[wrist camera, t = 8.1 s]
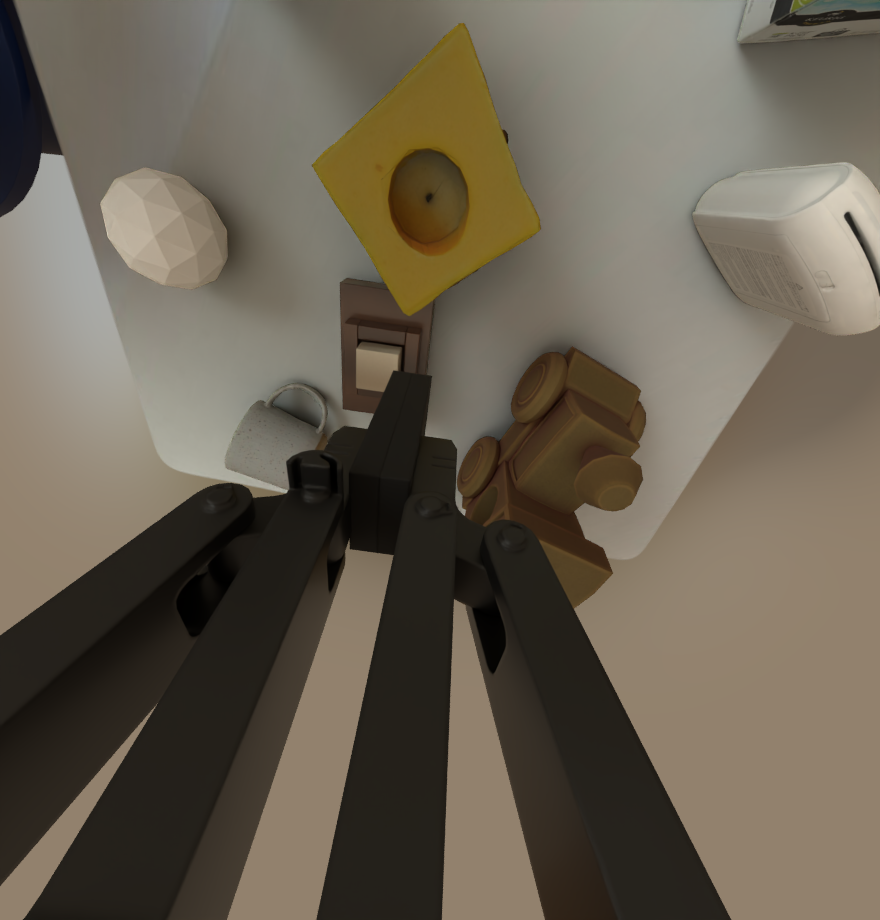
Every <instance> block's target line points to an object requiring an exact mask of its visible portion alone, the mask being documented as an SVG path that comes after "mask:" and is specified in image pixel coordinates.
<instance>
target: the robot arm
mask: <svg viewBox="0 0 880 920" xmlns="http://www.w3.org/2000/svg"><path fill="white" fill-rule="evenodd" d="M431 380H432V376H429V375H422V374H415V373H408V372H401V371H395V370H393V372H392V374H391V377H390V379H389V381H388V384H387V386H386V388H385V390H384V393H383V395H382V397H381V400H380V402H379V404H378V406H377V409H376V411H375V413H374V416H373V418H372V420H371V422H370V425H369V427H368V429H363V428H356V427H349V426H344V427H342V428H341V429H339V430H338V431H336V432H334V433H333V435H332V437H331V438H330V440H329V442H328V444H327V445H326V447H325V449H324V450H308V451H303V452H300V453H298V454H295V455H293V456H292V457H290V458H289V459H288V460H287V461H286V466H287V474H288V481H289V490H288V492H287V493H286V494H283V495H278V496H270V497H258V498H253V496H252V494H251V492H250V490H249V489H248V488H246V487H244V486H243V485H240V484H234V483H224V484H216V485H213V486H210V487H207V488H205V489H203V490H201V491H199V492H197V493H196V494H194V495H193V496H192V497H190V498H189V499H187V500H186V501H185V502H183V503H182V504H181V505H179V506H178V507H176V508H175V509H174V510H173V511H171V512H170V513H168V514H167V515H166V516H164V517H163V518H161V519H160V520H159V521H157V522H156V523H154V524H153V525H152V526H150V527H149V528H148V529H146V530H145V531H143V532H142V533H141V534H139V535H138V536H137V537H135V538H134V539H133V540H131V541H130V542H128V543H127V544H126V545H124V546H123V547H121V548H120V549H119V550H118V551H116V552H115V553H113V554H112V555H111V556H109V557H108V558H106V559H105V560H104V561H102V562H101V563H99V564H98V565H97V566H95V567H94V568H93V569H91V570H90V571H88V572H87V573H86V574H84V575H83V576H81V577H80V578H79V579H77V580H76V581H75V582H73V583H72V584H70V585H69V586H68V587H66V588H65V589H64V590H62V591H61V592H60V593H58V594H57V595H55V596H54V597H53V598H51V599H50V600H48V601H47V602H46V603H44V604H43V605H42V606H40V607H39V608H37V609H36V610H35V611H33V612H32V613H31V614H29V615H28V616H27V617H25V618H24V619H22V620H21V621H20V622H18V623H17V624H15V625H14V626H13V627H11V628H10V629H9V630H7V631H6V632H4V633H3V634H2V635H0V886H1V884H2V883H3V882H4V881H5V880H6V879H7V877H8V876H9V875H10V874H11V873H12V872H13V871H14V869H15V868H16V867H17V866H18V865H19V864H20V862H21V861H22V860H23V859H24V858H25V857H26V855H27V854H28V853H29V852H30V851H31V849H32V848H33V847H34V846H35V845H36V844H37V843H38V842H39V840H40V839H41V838H42V837H43V836H44V835H45V833H46V832H47V831H48V830H49V829H50V827H51V826H52V825H53V824H54V823H55V822H56V821H57V819H58V818H59V817H60V816H61V815H62V814H63V812H64V811H65V810H66V809H67V808H68V807H69V806H70V804H71V803H72V802H73V801H74V800H75V798H76V797H77V796H78V795H79V794H80V793H81V792H82V790H83V789H84V788H85V787H86V785H88V783H89V782H90V781H91V780H92V779H93V778H94V776H95V775H96V774H97V773H98V772H99V771H100V769H101V768H102V767H103V766H104V765H105V763H106V762H107V761H108V760H109V759H110V758H111V757H112V755H113V754H114V753H115V752H116V751H117V750H118V749H119V747H120V746H121V745H122V744H123V743H124V741H125V740H126V739H127V738H128V737H129V736H130V734H131V733H132V732H133V731H134V730H135V729H136V728H137V727H138V725H139V724H140V723H141V722H142V721H143V719H144V718H145V717H146V716H147V715H148V713H150V711H151V710H152V709H153V708H154V707H155V706H156V704H157V703H158V704H157V706H156V707H155V709H154V711H153V712H152V714H151V715H150V717H149V719H148V720H147V722H146V724H145V725H144V727H143V729H142V730H141V732H140V734H139V735H138V737H137V738H136V740H135V742H134V744H133V745H132V747H131V748H130V750H129V751H128V753H127V755H126V756H125V758H124V760H123V761H122V763H121V764H120V766H119V768H118V769H117V771H116V773H115V774H114V776H113V778H112V779H111V781H110V782H109V784H108V786H107V787H106V789H105V791H104V792H103V794H102V796H101V797H100V799H99V800H98V802H97V804H96V806H95V807H94V809H93V811H92V812H91V813H90V815H89V817H88V818H87V820H86V822H85V823H84V825H83V826H82V828H81V830H80V831H79V833H78V835H77V836H76V838H75V840H74V841H73V843H72V845H71V846H70V848H69V849H68V851H67V853H66V854H65V856H64V857H63V860H62V861H61V862H60V864H59V866H58V867H57V869H56V871H55V872H54V874H53V875H52V877H51V879H50V881H49V882H48V884H47V885H46V887H45V888H44V890H43V892H42V894H41V895H40V897H39V898H38V900H37V901H36V902H35V904H34V905H33V907H32V908H31V910H30V911H29V913H28V914H27V916H26V917H25V918H24V919H23V920H227V917H228V914H229V911H230V908H231V905H232V902H233V899H234V896H235V893H236V890H237V887H238V884H239V881H240V878H241V875H242V872H243V869H244V866H245V863H246V860H247V857H248V854H249V851H250V848H251V845H252V842H253V839H254V836H255V833H256V830H257V827H258V824H259V821H260V818H261V815H262V812H263V809H264V806H265V803H266V800H267V797H268V794H269V791H270V788H271V785H272V782H273V779H274V776H275V773H276V770H277V767H278V764H279V761H280V758H281V755H282V752H283V749H284V746H285V743H286V740H287V737H288V734H289V731H290V728H291V725H292V722H293V719H294V716H295V713H296V710H297V707H298V704H299V701H300V698H301V695H302V692H303V689H304V686H305V683H306V680H307V677H308V674H309V671H310V668H311V665H312V662H313V659H314V656H315V653H316V650H317V647H318V644H319V641H320V638H321V635H322V632H323V629H324V626H325V623H326V620H327V617H328V614H329V611H330V608H331V605H332V602H333V599H334V596H335V593H336V590H337V587H338V584H339V581H340V578H341V575H342V572H343V569H344V566H345V550H346V547H347V544H348V541H349V538H350V549H353V550H360V551H367V552H375V553H382V554H390V555H394V556H393V561H392V566H391V570H390V575H389V580H388V585H387V589H386V594H385V599H384V603H383V608H382V613H381V618H380V623H379V627H378V632H377V637H376V641H375V646H374V651H373V656H372V660H371V665H370V670H369V674H368V679H367V684H366V688H365V693H364V698H363V702H362V707H361V712H360V717H359V721H358V726H357V731H356V736H355V741H354V745H353V750H352V755H351V759H350V764H349V769H348V773H347V778H346V783H345V787H344V792H343V797H342V802H341V806H340V811H339V816H338V820H337V825H336V830H335V835H334V839H333V844H332V849H331V854H330V858H329V863H328V868H327V873H326V877H325V882H324V887H323V891H322V896H321V901H320V905H319V910H318V915H317V920H442V898H443V872H444V871H443V870H444V846H445V845H444V843H445V818H446V792H447V766H448V740H449V712H450V686H451V685H450V684H451V659H452V633H453V606H454V599H455V600H457V601H459V602H461V603H464V604H466V610H467V614H468V618H469V622H470V626H471V630H472V634H473V638H474V642H475V646H476V650H477V654H478V658H479V662H480V666H481V669H482V673H483V677H484V681H485V685H486V689H487V693H488V697H489V701H490V705H491V709H492V713H493V717H494V721H495V725H496V728H497V732H498V736H499V740H500V744H501V748H502V752H503V756H504V760H505V764H506V767H507V772H508V775H509V780H510V784H511V787H512V791H513V795H514V799H515V803H516V807H517V811H518V815H519V819H520V823H521V827H522V831H523V834H524V839H525V842H526V846H527V850H528V854H529V858H530V862H531V866H532V870H533V873H534V878H535V882H536V886H537V890H538V894H539V898H540V902H541V906H542V909H543V913H544V917H545V920H731V918H730V916H729V915H728V913H727V911H726V909H725V907H724V905H723V903H722V901H721V899H720V897H719V895H718V893H717V891H716V889H715V887H714V885H713V883H712V881H711V879H710V877H709V876H708V873H707V871H706V869H705V867H704V865H703V863H702V861H701V859H700V857H699V855H698V853H697V851H696V849H695V848H694V845H693V843H692V842H691V840H690V838H689V836H688V834H687V832H686V830H685V828H684V826H683V824H682V822H681V820H680V818H679V816H678V814H677V812H676V810H675V808H674V806H673V804H672V802H671V800H670V798H669V796H668V794H667V792H666V790H665V788H664V786H663V784H662V782H661V781H660V778H659V776H658V774H657V772H656V771H655V769H654V767H653V765H652V763H651V761H650V759H649V757H648V755H647V753H646V751H645V749H644V747H643V745H642V743H641V741H640V739H639V737H638V735H637V733H636V731H635V729H634V727H633V725H632V723H631V721H630V719H629V717H628V715H627V713H626V711H625V709H624V708H623V705H622V703H621V702H620V699H619V697H618V696H617V693H616V692H615V690H614V688H613V686H612V684H611V682H610V680H609V678H608V676H607V674H606V672H605V670H604V668H603V666H602V664H601V662H600V660H599V658H598V656H597V654H596V652H595V650H594V648H593V646H592V644H591V642H590V640H589V638H588V636H587V634H586V632H585V630H584V628H583V626H582V624H581V622H580V620H579V619H578V617H577V615H576V613H575V611H574V609H573V607H572V605H571V603H570V601H569V599H568V597H567V595H566V593H565V591H564V589H563V587H562V585H561V583H560V581H559V579H558V577H557V575H556V573H555V571H554V569H553V567H552V565H551V563H550V561H549V559H548V557H547V555H546V553H545V551H544V549H543V547H542V545H541V543H540V542H539V540H538V538H537V536H536V535H535V534H534V533H533V531H532V530H531V529H529V528H528V527H526V526H525V525H524V524H521V523H519V522H516V521H513V520H504V519H502V520H497V521H494V522H492V523H491V524H489V525H488V526H487V527H485V526H483V525H480V524H478V523H475V522H473V521H471V520H469V519H468V518H467V517H465V516H464V515H463V514H462V513H461V512H460V511H459V510H458V508H457V506H456V502H455V489H456V465H457V448H456V447H455V445H454V444H453V442H452V440H448V439H441V438H434V437H427V436H425V428H426V420H427V412H428V404H429V396H430V388H431Z"/></svg>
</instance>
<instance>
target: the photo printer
mask: <svg viewBox="0 0 880 920" xmlns="http://www.w3.org/2000/svg"><path fill="white" fill-rule="evenodd" d="M692 217H693V220H694V223H695V226H696V229H697V231H698V233H699V235H700V237H701V239H702V241H703V243H704V244H705V246H706V248H707V250H708V251H709V253H710V255H711V257H712V258H713V260H714V262H715V263H716V265H717V267H718V268H719V270H720V272H721V273H722V275H723V277H724V278H725V280H726V282H727V283H728V285H729V286H730V288H731V289H732V291H733V292H734V293H735V294H736V296H737V297H739V298H740V299H741V300H742V301H743V302H745V303H747V304H749V305H752V306H755V307H757V308H760V309H763V310H765V311H768V312H771V313H773V314H776V315H779V316H781V317H784V318H787V319H789V320H792V321H795V322H797V323H800V324H802V325H805V326H808V327H810V328H813V329H815V330H818V331H821V332H823V333H826V334H830V335H837V336H841V335H853V334H860V333H864V332H867V331H871V330H873V329H875V328H877V327H878V326H879V325H880V193H879V192H878V190H877V189H876V187H875V186H874V185H873V183H872V182H871V181H870V180H869V178H868V177H867V176H866V175H865V174H864V173H863V172H861V171H860V170H859V169H858V168H857V167H855V166H854V165H852V164H850V163H843V162H842V163H831V164H818V165H807V166H793V167H783V168H772V169H761V170H751V171H743V172H739V173H737V174H736V175H735V176H734V177H730V178H726V179H723V180H720V181H719V182H717V183H715V184H714V185H713V186H711V187H710V188H709V189H708V190H707V191H706V192H705V193H704V194H703V196H702V197H701V199H700V200H699V202H698V204H697V206H696V211H694V212H693V213H692Z"/></svg>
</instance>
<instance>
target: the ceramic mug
mask: <svg viewBox="0 0 880 920" xmlns="http://www.w3.org/2000/svg"><path fill="white" fill-rule="evenodd" d="M294 388H299V389H301V390H303V391H305V392H306V393H308V394H309V395H311V396H312V397H313V399H314V401H316V402H318V403H319V405H320V406H321V408H322V416H323V417H322V420H321V424H320V426H319V428H316V427H314V426H312V425H310V424H308V423H305V422H303V421H301V420H299V419H297V418H295V417H293V416H291V415H290V414H288V413H286V412H284V411H282V410H280V409H279V408H276V407H274V406H273V405H272V404H273V402H274V400H275V399H276V398H277V397H278V396H279V395H280V394H281V393H282V392H283V391H287V390H289V389H294ZM327 415H328V411H327V405H326V402H325V400H324V398H323V397H322V396H321V394H320V393H319V392H318V391H316V390H315V389H313V388H312V387H310V386H307V385H305V384H299V383H293V384H289V385H286V386H283V387H281V388H280V389H278V390H277V391H275V392H274V393H273V394H272V396H271V397H270V398H269V399H268V401H267V402H264V401H262V400H259V401H257V402H256V403H255V404H253V405H252V406H251V407H250V409H249V410H248V411H247V412H246V414H245V416H244V417H243V419H242V420H241V422H240V424H239V426H238V428H237V429H236V431H235V434H234V436H233V437H232V440H231V442H230V444H229V447H228V450H227V453H226V457H225V467H226V468H227V469H229V470H232V471H235V472H238V473H241V474H244V475H247V476H250V477H253V478H255V479H258V480H261V481H264V482H267V483H270V484H272V485H275V486H278V487H281V488H283V489H287V490H289V481H288V474H287V466H286V461H287V460H288V459H289V458H290V457H292V456H293V455H295V454H298V453H300V452H303V451H308V450H324V448H325V446H326V444H327V442H328V439H327V437H326V435H325V434H324V433H323V432H322V430H323V428H324V426H325V424H326V420H327Z"/></svg>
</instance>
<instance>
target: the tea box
mask: <svg viewBox="0 0 880 920" xmlns="http://www.w3.org/2000/svg"><path fill="white" fill-rule="evenodd" d="M872 33H880V0H747V4H746V8H745V12H744V16H743V20H742V23H741V27H740V32H739V35H738V38H737V42H739V43H741V44H743V43H761V42H781V41H791V40H804V39H817V38H830V37H840V36H848V35H862V34H872Z"/></svg>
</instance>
